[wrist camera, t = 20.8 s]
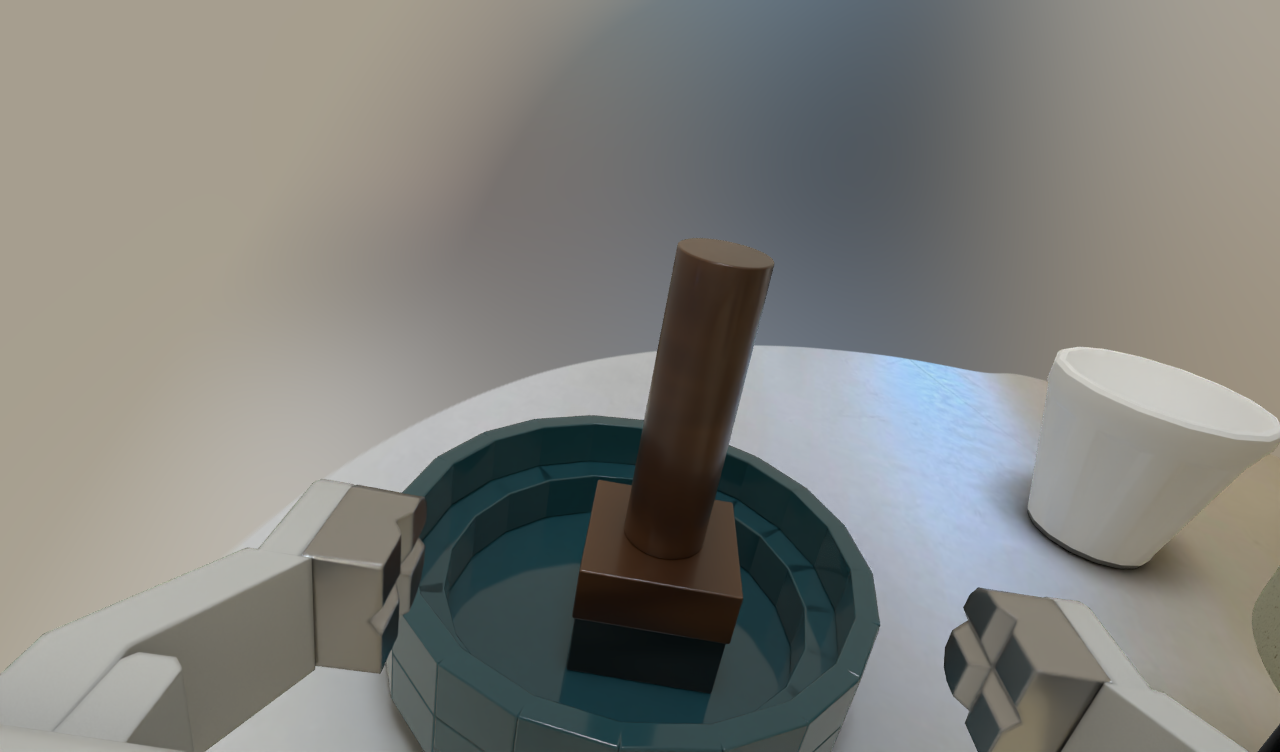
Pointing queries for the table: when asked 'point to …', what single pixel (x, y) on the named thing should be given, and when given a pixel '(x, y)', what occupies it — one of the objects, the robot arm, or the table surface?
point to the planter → (1269, 641)
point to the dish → (545, 592)
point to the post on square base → (676, 489)
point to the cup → (1136, 452)
